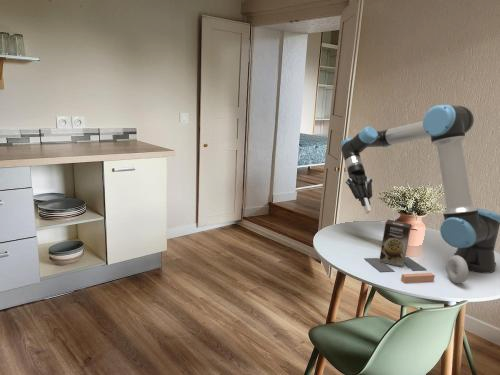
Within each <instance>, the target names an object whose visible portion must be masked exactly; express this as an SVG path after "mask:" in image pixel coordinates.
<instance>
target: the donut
mask: <svg viewBox="0 0 500 375" xmlns="http://www.w3.org/2000/svg"><path fill="white" fill-rule="evenodd" d="M445 267H446V273H447V276H448V278H449V279H450V281H451V282H453V283H454V284H463V283H464V282H465V281H466V280H467V279H468V276H469V270H468V266H467V263H466V261H465V260H464V259H463V258H462V257H461V256H458V255H454V254H453V255H452V256H450V257H449V259H447V262H446V266H445Z"/></svg>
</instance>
